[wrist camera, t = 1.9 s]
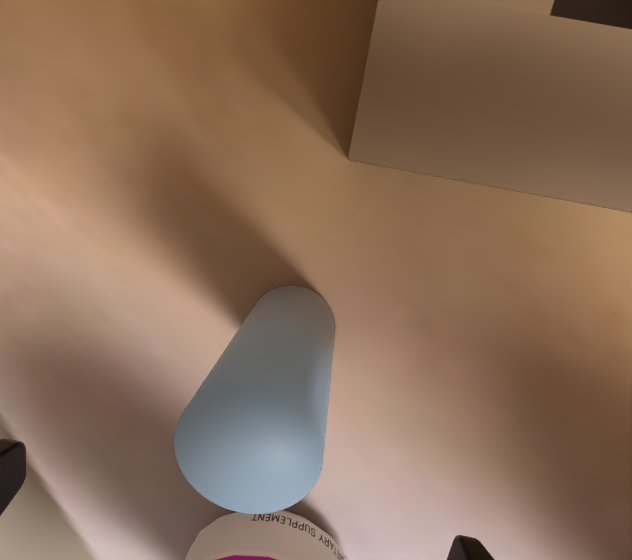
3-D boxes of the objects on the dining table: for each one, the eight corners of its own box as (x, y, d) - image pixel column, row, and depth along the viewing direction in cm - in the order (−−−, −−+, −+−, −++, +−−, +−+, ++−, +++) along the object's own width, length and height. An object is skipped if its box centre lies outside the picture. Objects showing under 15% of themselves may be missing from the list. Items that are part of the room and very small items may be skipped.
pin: (326, 372, 18) (308, 527, 10) (245, 355, 18) (168, 497, 11) (342, 294, 17) (336, 402, 9) (256, 277, 17) (180, 371, 10)
